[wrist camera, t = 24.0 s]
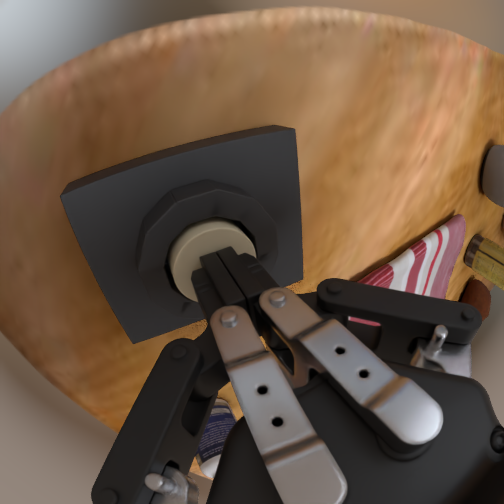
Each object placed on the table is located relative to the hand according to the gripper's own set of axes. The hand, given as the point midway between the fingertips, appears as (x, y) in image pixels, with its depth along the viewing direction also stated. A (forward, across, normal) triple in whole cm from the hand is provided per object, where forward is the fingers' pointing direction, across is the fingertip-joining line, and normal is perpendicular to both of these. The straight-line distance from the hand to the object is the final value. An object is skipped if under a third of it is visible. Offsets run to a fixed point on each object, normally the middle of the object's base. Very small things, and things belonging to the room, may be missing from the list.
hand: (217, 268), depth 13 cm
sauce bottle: (+5, -44, +18) cm, 48 cm away
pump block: (+4, 0, 0) cm, 5 cm away
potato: (+5, -51, +33) cm, 61 cm away
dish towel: (+5, -21, +17) cm, 27 cm away
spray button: (+2, 0, 0) cm, 2 cm away
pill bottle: (+5, +5, +20) cm, 21 cm away
